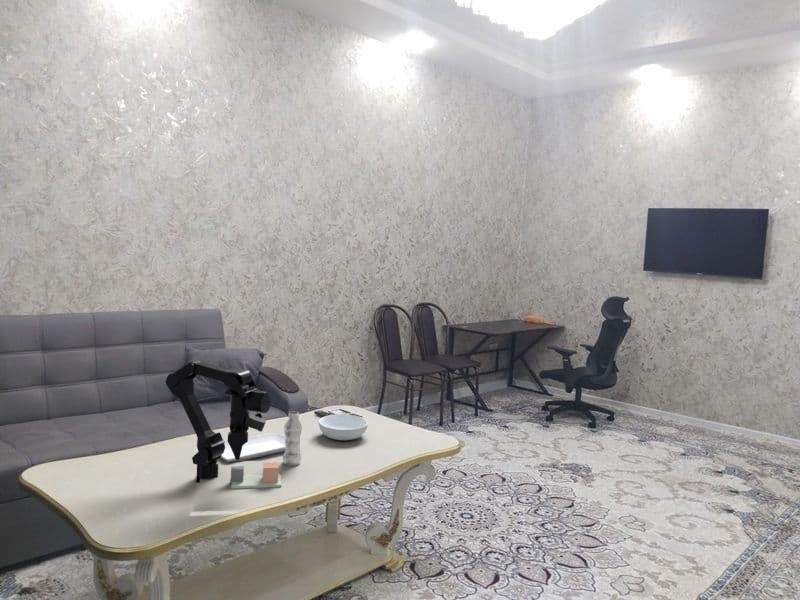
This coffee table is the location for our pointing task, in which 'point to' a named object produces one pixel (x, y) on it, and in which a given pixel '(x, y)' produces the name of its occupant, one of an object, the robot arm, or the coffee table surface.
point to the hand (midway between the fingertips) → (238, 454)
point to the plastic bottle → (292, 440)
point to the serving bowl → (343, 426)
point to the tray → (257, 447)
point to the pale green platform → (249, 479)
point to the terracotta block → (270, 472)
